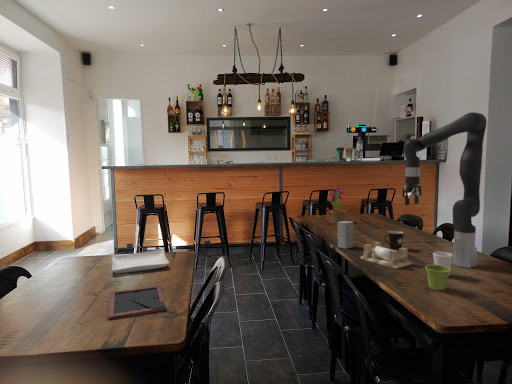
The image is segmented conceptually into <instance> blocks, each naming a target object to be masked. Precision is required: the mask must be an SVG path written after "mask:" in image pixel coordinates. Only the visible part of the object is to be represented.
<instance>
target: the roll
mask: <svg viewBox="0 0 512 384" xmlns="http://www.w3.org/2000/svg"><path fill="white" fill-rule="evenodd" d="M391 250H392V249H390V248H387V247H383V246H381V247H379V246H376V247H375V248H373V247H372V254H374V256H375V257H377V258H381V259H385V260H388V261H389V251H391ZM402 258H403V256H402V255H399V253H398V260H402Z"/></svg>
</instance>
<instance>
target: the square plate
mask: <svg viewBox="0 0 512 384" xmlns="http://www.w3.org/2000/svg"><path fill="white" fill-rule="evenodd" d="M111 259H112V265H111V271H112V272H113V273H116V274H123V273H125V274H127V273H134V272H141V271H149V270H156V269H160V268H164V267H166V266H168V265H169V264H170V261H169V259H168V258H167V257H166V254H165V252H164V251H163V250H159V251H158V250H157V251H156V250H155V251H146V252H144V251H143V252H138V253H137V252H136V253H130V254H129V253H128V254H121V255H115V256H112V257H111Z"/></svg>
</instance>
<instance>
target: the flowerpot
mask: <svg viewBox="0 0 512 384" xmlns="http://www.w3.org/2000/svg"><path fill="white" fill-rule="evenodd" d="M340 189H341V188H340V187H339V186H338V187H336V190H335V189H334V188H331V189H330V190H331V192H332V193H331V194H330V195H329V198H330V197H331V198H333V197H334V198H333V201H331V202H330V204H331V205H334V206H335V205H337V208H336V209H330V210H329V214H330V216H331V217H330V218H331V223H332V224H337V225H338V223H337V222H341V221H346V220H345V219H346V214H347V212H348V211H347V209H341V208H344V205H341V204H339V203H340V200H343V197H342V196H341V195H344V193H345V192H344V191H343V190H342V191H340Z"/></svg>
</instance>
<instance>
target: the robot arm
mask: <svg viewBox="0 0 512 384" xmlns="http://www.w3.org/2000/svg"><path fill="white" fill-rule="evenodd" d="M486 128H487V117H486V116H485V115H484V114H483V113H480V112H468V113H465V114H463V115H462V116H460V117H458V118H456V119H455V120H454V121H452V122H450V123H448V124H446V125H443V126H441V127H439V128H437V129H434V130H432V131H428V132H427V133H424V134H423V135H422V136H421V137H419V138H416V139H415V138H414V139H413V138H409V139H407V140H406V141H405V142H404V145H403V153H404V156H405V169H404V171H405V172H404V173H405V174H404V184H405V185H406V186H402V194H401V195H402V198H404V205H405V206H410V198H411V196H412V195H413V197H414V198H413V201H414V202H413V203H414V205H418V204H419V200H420V197H422V185H420V184H421V169H420V167H421V159H420V157H418V156H417V153H419V152H422V151H423V150H425V149H427V148H429V147H431V146H433V145H437V144H439V143H441V142H444V141H445V140H447V139H449V138H450V137H453V136H455V135H459V134H463V133H466V144H465V146H464V148H463V151H462V153H461V156H460V158H459V159H460V160H459V169H458V170H459V171H458V172H459V177H460V179H461V182H462V185H463V198H462V199H458V200H457V201H455V203H454V204H453V206H452V226H453V231H454V233H453V253H452V254H453V256H452V264H453V266H457V267H460V268H468V269H471V268H475V267H477V255H478V253H477V252H478V251H477V250H478V248H477V246H476V232H477V231H476V227H477V226H475V225H474V224H472V223H473V222H472V218H473V217H474V218H475V217H476V216H477V215H478V214H479V213H480V210H481V199H480V198H481V197H480V195H481V194H480V188H481V187H480V186H481V175H482V174H481V173H482V165H483V148H484V138H485V133H486Z"/></svg>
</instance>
